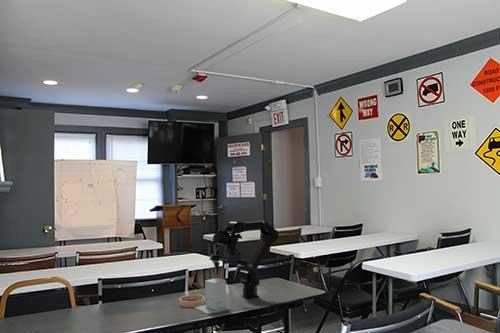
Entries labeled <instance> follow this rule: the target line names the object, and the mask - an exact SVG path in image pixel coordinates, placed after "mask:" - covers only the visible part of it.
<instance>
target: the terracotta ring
mask: <svg viewBox="0 0 500 333" xmlns="http://www.w3.org/2000/svg"><path fill="white" fill-rule="evenodd" d="M202 305H206V302H205V295H202V294H187V295H183V296H181V297H179V298H178V306H180V307H183V308H195V307H198V306H202Z"/></svg>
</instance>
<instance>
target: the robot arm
mask: <svg viewBox="0 0 500 333" xmlns="http://www.w3.org/2000/svg"><path fill="white" fill-rule="evenodd" d="M257 229H258V230H259V231H260V233H261V234H262V235H261V241H260V244H259V246H258V248H257V249H256V251H255V252H254V255H253V256H252V258H251V260H250V262H249V261H248V260H247V259H242V257H243V253H241V252H238V244H239V240H240V239H241V240H242V239H243V237H242V235H241V233H244V232H245V231H249V230H251V231H252V230H257ZM279 237H280V235H279V231H278V230H276V229H275V228H274V227H273V226H272V225H271V224H269V222H268V221H266V220H257V221H256V220H255V221H247V222H245V221H244V222H242V221H241V222H239V221H232V220H231V221H229V222H228V223H227V226H226V227H225V228H224V229H223V230H221V229H216V232H215V233H214V234H213V237H212V241H213V243H214V244H217V245H222V246H225V248H224V254H223V257H221V256H220V255H218V254H211V255H209V260H210V261H211V263H213V265H214V269H215V275H216V278H218V277H219V276H218V275H219V269H220V262H225V263H232V264H237V265H236V267H235V273H234V277H233V278H234V279H233V280H237V278H238V277H239V280H240V283H241V285H243V288H242V297H243V298H246V299H249V300H251V299H254V298H259V297H260V295H258V286H260V281H261V280H259V279H258V278H257V275H258V267H260V264H261V262H263V260H264V257H265V256H266V254H267V252H268V250H269V248H270V247H271V246H272V245H273V244H275V243H276V242H277V240H278V239H279Z"/></svg>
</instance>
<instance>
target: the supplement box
mask: <svg viewBox="0 0 500 333" xmlns="http://www.w3.org/2000/svg"><path fill="white" fill-rule="evenodd" d="M204 291H205V295H204V296H205V305H206V308H210V309H213V310H218V309H221V308H224V307H228V304H227V280H226V279H223V278H218V277H216V278H215V277H214V278H211V279H207V280H204Z"/></svg>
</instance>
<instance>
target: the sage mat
mask: <svg viewBox="0 0 500 333" xmlns="http://www.w3.org/2000/svg"><path fill="white" fill-rule="evenodd" d="M194 309H195V310H197V311H199V312H201V313H203V314H205V315H211V314H216V313H219V312H223V311H227V310H230V309H231V308H230V307H229V306H227V307H224V308H221V309H218V310H213V309H210V308H206V304H204V305H202V306H197V307H194Z"/></svg>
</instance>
